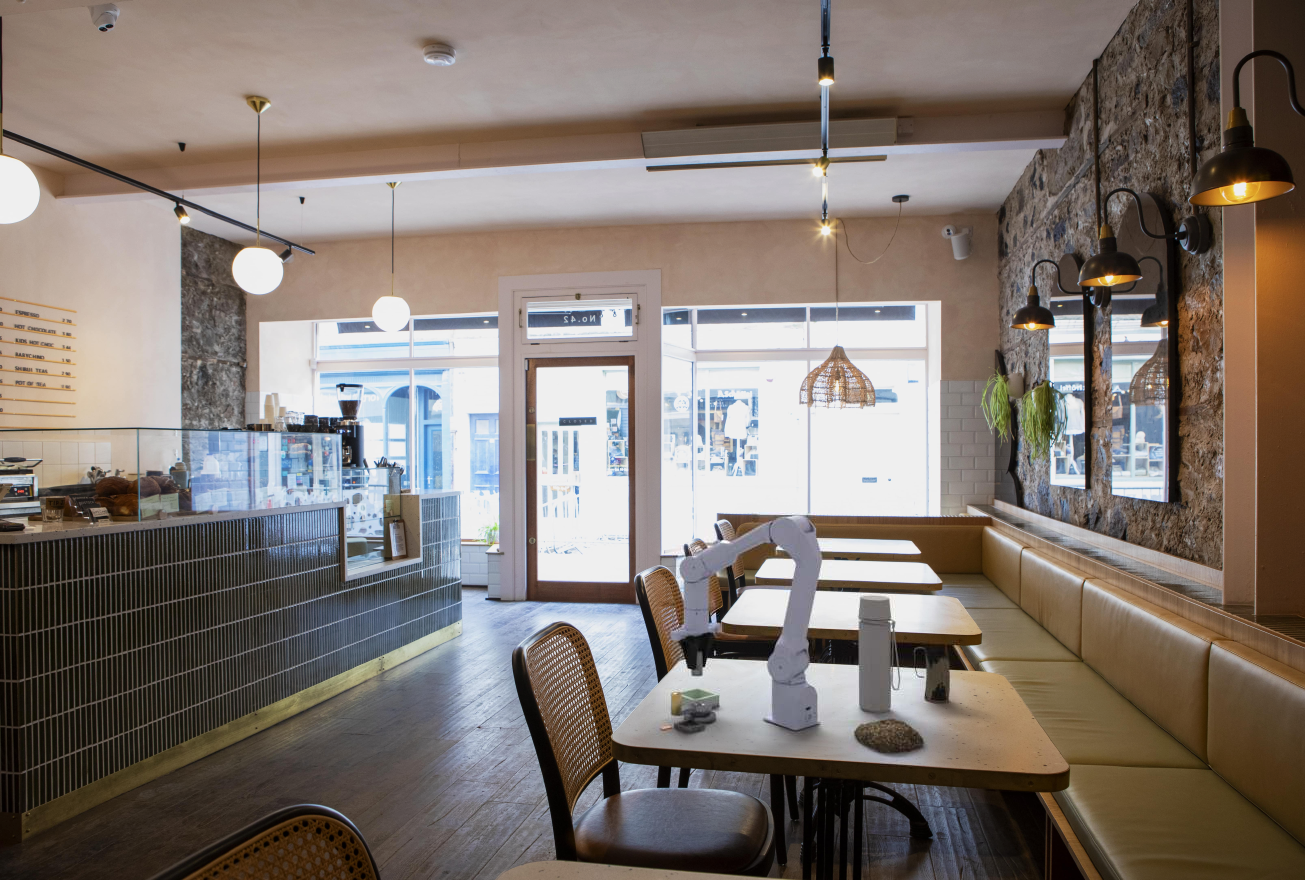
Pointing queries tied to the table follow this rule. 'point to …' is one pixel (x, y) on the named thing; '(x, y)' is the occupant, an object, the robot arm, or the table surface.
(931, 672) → the mug
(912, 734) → the brown rock
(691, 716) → the crank base
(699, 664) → the stop pin
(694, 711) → the crank
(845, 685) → the table surface
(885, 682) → the water bottle
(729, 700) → the table surface
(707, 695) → the tray
